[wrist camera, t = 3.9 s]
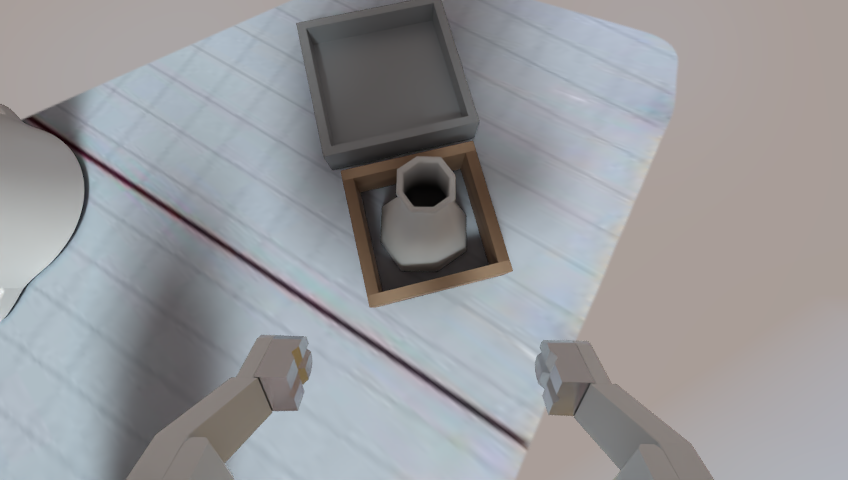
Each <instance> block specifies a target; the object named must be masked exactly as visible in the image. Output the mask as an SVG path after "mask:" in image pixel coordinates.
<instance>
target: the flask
mask: <svg viewBox="0 0 848 480" xmlns="http://www.w3.org/2000/svg"><path fill="white" fill-rule="evenodd" d="M396 195H397V197H396V198H395V199H393V200H392V201H390V202H389V203H387V204H386V205H384V206H383V207H382V215H381V236H380V242H381V244H382V245H383V246H384V248H385V249H386V251H387V252H388V253H389V255H390V256H391V258H392V259H393V260H394V262H395V263H396V265H397V266H398V268H399V269H400V270H401V271H428V272H438V271H439V270H441V269H442V268H443V267H445V266H446V265H448V264H449V263H450V262H452V261H453V260H454V259H456V258H457V257H459V256H460V255H461V254H463V253H464V252H465V251H467V232H466V215H465V213H464V212H463V211H462V210H461V208H460V207H459V206H458V204H457V203H456V202H455V199H456V175H455V174H454V173H453V171H452V170H451V169H450V168H449V166H448V165H447V164H446V162H445V161H444V160H443V159H442V157H428V156H416V157H415V158H413V159H412V160H410V161H409V162H407V163H406V164H404V165H403V166H401V167H400V168H398V169H397V182H396Z"/></svg>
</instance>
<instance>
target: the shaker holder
mask: <svg viewBox="0 0 848 480" xmlns="http://www.w3.org/2000/svg"><path fill="white" fill-rule="evenodd" d="M416 156H428V157H442V159H443V160H444V161H445V162H446V164H447V165H448V166H449V168H450V169H451V170H452V171H455V170H459V169H461V172H462V175H463V179H464V182H465V185H466V189H467V192H468V196H469V199H470V202H471V206H472V209H473V213H474V216H475V219H476V223H477V226H478V230H479V233H480V236H481V240H482V243H483V247H484V250H485V254H486V257H487V260H488V264H489V265H487V266H483V267H479V268H475V269H471V270H467V271H463V272H459V273H455V274H452V275H448V276H444V277H440V278H436V279H432V280H428V281H424V282H420V283H416V284H412V285H408V286H404V287H400V288H396V289H392V290H388V291H384V292H383V291H382V286H381V282H380V277H379V273H378V268H377V264H376V259H375V255H374V250H373V246H372V241H371V237H370V232H369V228H368V224H367V219H366V215H365V210H364V206H363V201H362V197H361V192H364V191H369V190H373V189H377V188H382V187H386V186H390V185H395V184H396V182H397V169H398V168H400V167H401V166H403V165H404V164H406V163H407V162H409V161H410V160H412V159H413V158H415V157H416ZM341 176H342V180H343V185H344V190H345V194H346V199H347V204H348V208H349V213H350V218H351V222H352V227H353V232H354V236H355V241H356V246H357V250H358V255H359V260H360V264H361V269H362V274H363V279H364V283H365V288H366V293H367V297H368V302H369V307H379V306H383V305H387V304H391V303H395V302H399V301H403V300H407V299H411V298H415V297H419V296H423V295H426V294H430V293H434V292H438V291H442V290H446V289H450V288H454V287H458V286H462V285H466V284H470V283H474V282H477V281H481V280H485V279H489V278H493V277H497V276H501V275H504V274H506V273H509V272H511V271H513V270H512V266H511V263H510V260H509V257H508V253H507V250H506V247H505V244H504V240H503V237H502V234H501V231H500V227H499V224H498V221H497V217H496V214H495V211H494V208H493V204H492V201H491V198H490V195H489V191H488V188H487V185H486V182H485V178H484V175H483V172H482V169H481V165H480V162H479V159H478V156H477V152H476V149H475V146H474V143H473V141H470V142H465V143H461V144H456V145H452V146H448V147H443V148H439V149H434V150H430V151H426V152H421V153H417V154H412V155H408V156H404V157H399V158H395V159H390V160H386V161H381V162H377V163H373V164H368V165H364V166H359V167H355V168H351V169H346V170H342V171H341Z"/></svg>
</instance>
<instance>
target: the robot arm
mask: <svg viewBox="0 0 848 480" xmlns="http://www.w3.org/2000/svg"><path fill="white" fill-rule="evenodd" d="M83 201H84V180H83V174H82V170H81V167H80V165H79V162H78V160H77V158H76V157H75V155H74V154H73V152H72V151H71V150H70V148H69V147H68V146H67V145H66V144H65V143H64V142H63V141H61V140H60V139H59V138H57V137H56V136H54V135H52V134H50V133H48V132H46V131H43V130H41V129H38V128H35V127H32V126H29V125H27V124H25V123H23V122H22V121H21V120H20V118H19V117H18V116H17V115H16V114H15V113H14V112H13V111H12V110H11V109H9V108H8V107H6V106H4V105H2V104H0V322H1V321H2V320H3V319H4V318H5V317H6V315H7V314H8V313H9V312H10V310H11V308H12V307H13V305H14V304H15V302H16V300H17V299H18V297H19V295H20V294H21V292H22V290H23V288H24V287H25V286H26V285H27V284H28V283H29V282H30V281H31V280H32V279H33V278H34V277H35V276H36V275H38V274H39V273H40V272H41V271H42V270H43V269H44V268H46V267H47V266H48V265H49V264H50V263H51V262H52V261H53V260H54V259H55V258H56V257H57V255H58V254H59V253H60V252H61V250H62V249H63V248H64V246H65V245H66V244H67V242H68V240H69V239H70V237H71V235H72V234H73V232H74V230H75V228H76V225H77V223H78V220H79V218H80V214H81V211H82V207H83ZM308 344H309V343H308V340H307V337H304V336H281V335H261V336H260V337H258V338H257V340H256V342H255V343H254V345H253V347H252V349H251V351H250V353H249V354H248V356H247V358H246V360H245V362H244V364H243V365H242V367H241V369H240V371H239V373H238V375H237V376H236V377H231V378H230V379H229V380H227V381H226V382H225V383H223V384H222V385H221V386H219V387H218V388H217V389H215V390H214V391H213V392H211V393H210V394H209V395H207V396H206V397H205V398H203V399H202V400H201V401H199V402H198V403H197V404H195V405H194V406H193V407H192V408H190V409H189V410H188V411H186V412H185V413H184V414H182V415H181V416H180V417H178V418H177V419H176V420H174V421H173V422H172V423H170V424H169V425H168V426H166V427H165V428H164V429H162V430H161V431H160V432H158V433H157V434H156V435H155V436H154V438H153V439H152V441H151V442H150V444H149V445H148V447H147V448H146V450H145V451H144V453H143V454H142V456H141V457H140V459H139V460H138V462H137V463H136V465H135V466H134V468H133V469H132V471H131V472H130V474H129V475H128V477H127V478H126V480H234V478H233V475H232V474H231V472H230V471H229V469H228V468H227V467H226V465H225V463H226V462H227V460H228V459H229V458H230V457H231V456H232V455H233V454H234V453H235V452H236V451H237V450H238V449H239V448H240V447H241V445H242V444H243V443H244V442H245V441H246V440H247V439H248V438H249V437H250V436H251V435H252V434H253V433H254V432H255V430H256V429H257V428H258V427H259V426H260V425H261V424H262V423H263V422H264V421H265V420H266V419H267V418H268V417H269V415H270V414H271V413H272V411H298V409H299V406H300V403H301V400H302V397H303V394H304V389H303V384H304V383H305V382H306V381H307V380H308V379H309V376H310V373H311V368H312V354H311V351H309V350H308V349H307V346H308ZM540 349H541V353H540V354H539V355H537V358H536V361H535V372H536V377H537V380H538V383H539V384H540V385H541V386H542V387H543V388H544V389H545V390H544V392H543V395H542V396H543V399H544V403H545V406H546V409H547V412H548V414H549V415H564V416H565V415H566V416H574V418H575V419H576V420H577V421H578V422H579V424H580V425H581V426H582V427H583V428H584V429H585V431H586V432H587V433H588V434H589V435H590V436H591V437H592V438H593V440H594V441H595V442H596V443H597V444H598V445H599V446H600V448H601V449H602V450H603V451H604V452H605V453H606V454H607V455H608V457H609V458H610V459H611V460H612V461H613V462H614V463H615V465H616V466H617V467H618V468H619V469H620V472H619V473H618V474H617V476H616V477H615V478H614V480H714V479H713V477H712V476H711V474H710V473H709V471H708V469H707V468H706V466H705V465H704V463H703V461H702V460H701V458H700V457H699V456H698V454H697V452H696V450H695V449H694V447H693V446H692V444H691V443H689V442H688V441H687V440H686V439H684V438H683V437H682V436H681V435H680V434H678V433H677V432H676V431H675V430H673V429H672V428H671V427H670V426H668V425H667V424H666V423H665V422H663V421H662V420H661V419H659V418H658V417H657V416H656V415H654V414H653V413H652V412H651V411H650V410H648V409H647V408H646V407H645V406H643V405H642V404H641V403H640V402H638V401H637V400H636V399H635V398H633V397H632V396H631V395H629V394H628V393H627V392H626V391H625V390H623V389H622V388H621V387H620V386H618V385H617V384H612V383H611V381H610V379H609V377H608V376H607V373H606V372H605V370H604V368H603V366H602V364H601V362H600V360H599V358H598V357H597V355H596V353H595V351H594V349H593V347H592V345H591V344H590V343H589V342H588V341H571V340H543V341H542V342H541V345H540Z"/></svg>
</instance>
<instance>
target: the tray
mask: <svg viewBox="0 0 848 480" xmlns="http://www.w3.org/2000/svg"><path fill="white" fill-rule="evenodd" d="M296 25H297V29H298V34H299V39H300V44H301V49H302V54H303V59H304V64H305V69H306V73H307V78H308V83H309V88H310V93H311V98H312V103H313V108H314V113H315V117H316V122H317V127H318V132H319V137H320V142H321V147H322V152H323V156H324V158H325V160H326V161H327V163H328V164H329V166H330V168H331V169H332V170H335V169H339V168H343V167H348V166H352V165H357V164H361V163H366V162H370V161H374V160H379V159H383V158H388V157H392V156H396V155H401V154H405V153H410V152H414V151H419V150H423V149H427V148H432V147H436V146H441V145H445V144H449V143H454V142H458V141H463V140H467V139H472V138H474V137H475V134H476V131H477V128H478V125H479V119H478V115H477V112H476V109H475V106H474V103H473V100H472V96H471V93H470V90H469V87H468V84H467V81H466V77H465V74H464V71H463V68H462V65H461V62H460V58H459V55H458V52H457V49H456V46H455V43H454V39H453V36H452V33H451V30H450V27H449V24H448V20H447V17H446V14H445V11H444V8H443V5H442V1H441V0H411V1H406V2H401V3H396V4H391V5H386V6H381V7H376V8H371V9H366V10H361V11H356V12H350V13H345V14H340V15H335V16H330V17H325V18H320V19H315V20H310V21H305V22H300V23H296Z"/></svg>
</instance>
